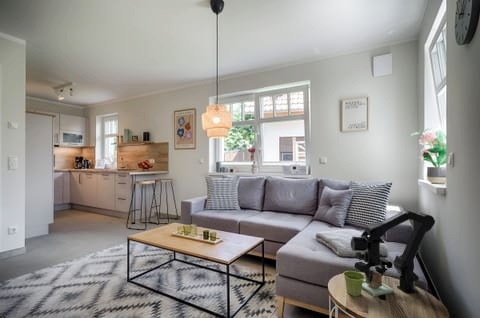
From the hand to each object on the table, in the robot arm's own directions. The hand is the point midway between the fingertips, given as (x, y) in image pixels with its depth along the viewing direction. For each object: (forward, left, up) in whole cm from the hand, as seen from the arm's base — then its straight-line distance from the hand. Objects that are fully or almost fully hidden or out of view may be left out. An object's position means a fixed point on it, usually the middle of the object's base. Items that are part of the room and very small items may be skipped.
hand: (373, 282), depth 122 cm
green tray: (0, 0, -3) cm, 3 cm away
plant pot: (+13, +1, -3) cm, 13 cm away
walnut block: (0, 0, -1) cm, 1 cm away
